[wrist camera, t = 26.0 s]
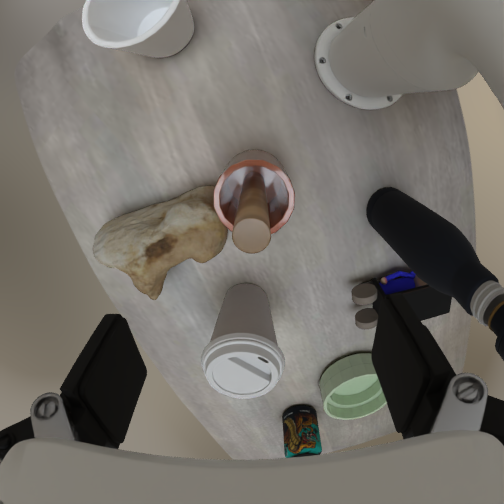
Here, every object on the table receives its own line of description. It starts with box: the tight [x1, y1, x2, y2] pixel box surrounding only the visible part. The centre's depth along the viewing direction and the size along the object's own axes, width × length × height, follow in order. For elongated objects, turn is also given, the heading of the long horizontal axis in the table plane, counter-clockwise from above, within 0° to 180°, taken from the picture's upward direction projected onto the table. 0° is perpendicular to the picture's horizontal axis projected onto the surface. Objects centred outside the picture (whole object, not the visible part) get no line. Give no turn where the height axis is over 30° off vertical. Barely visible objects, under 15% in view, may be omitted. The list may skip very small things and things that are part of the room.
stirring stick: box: [232, 172, 271, 253], centre depth 29 cm, size 3×3×18 cm
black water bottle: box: [367, 187, 504, 360], centre depth 25 cm, size 6×6×30 cm
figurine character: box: [352, 271, 452, 329], centre depth 41 cm, size 7×8×15 cm
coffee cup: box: [201, 283, 285, 399], centre depth 38 cm, size 10×10×15 cm
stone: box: [93, 185, 228, 300], centre depth 35 cm, size 17×12×10 cm
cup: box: [82, 0, 194, 58], centre depth 24 cm, size 10×10×13 cm
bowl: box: [319, 353, 387, 420], centre depth 49 cm, size 13×13×6 cm
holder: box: [213, 150, 295, 234], centre depth 33 cm, size 8×8×10 cm
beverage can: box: [282, 405, 322, 458], centre depth 51 cm, size 7×7×12 cm
